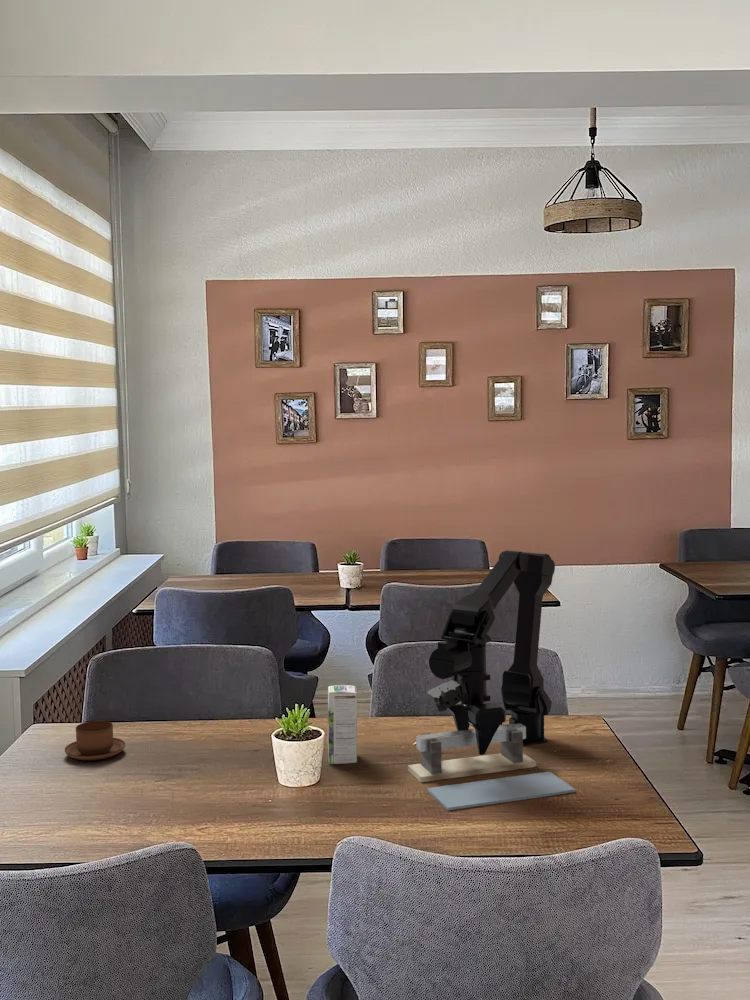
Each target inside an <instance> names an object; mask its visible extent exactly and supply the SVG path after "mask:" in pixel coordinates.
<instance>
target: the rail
mask: <svg viewBox="0 0 750 1000" xmlns="http://www.w3.org/2000/svg"><path fill="white" fill-rule="evenodd" d="M502 725H503V726H501V725H500V726H499V727H498V729H497V731H496V733H495V734H494V736H493V738H492V740H491V742H490V744H495V743H501V742H504V741H511V732H512V731H522V732H523V739H526V727H525V726H524V725H522V724H521V723H519V724H511V725H505V724H502ZM426 734H427V735H421V734H420V735H419V734H418V735H416V742H415V743H416V749H417V750H418V751H419V752H420V753H421V752H424V751H430V746H429V742H430V741H438V740H439V741H441V750H447V749H455V748H462V747H463V748H464V747H472V746H477V739H476V732H475V728H472V729H471V728H470V729H469V730H461V731H457V730H455V731H445V732H438V733H437V732H436V733H431V734H429V733H426Z"/></svg>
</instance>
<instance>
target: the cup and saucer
mask: <svg viewBox="0 0 750 1000" xmlns="http://www.w3.org/2000/svg"><path fill="white" fill-rule="evenodd" d="M113 727H114V724H113V723H112V722H110V721H108V720H106V721H105V720H94V721H93V720H91V721H86V722H83V723H80V724H78V725H76V727H75V737H76V738H75V739H76V740H75V741H74V742H71V743H69V744H67V745H66V746H65V748H64V753H65V755H67V756H68V757H69V758H72V759H74V760H80V761H98V760H104V759H107V758H112V757H114V756H116V755H118V754H120V753H121V752H123V750H124V749H125V746H126V742H125V740H122V739H120V738H117V737H114V728H113Z"/></svg>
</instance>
